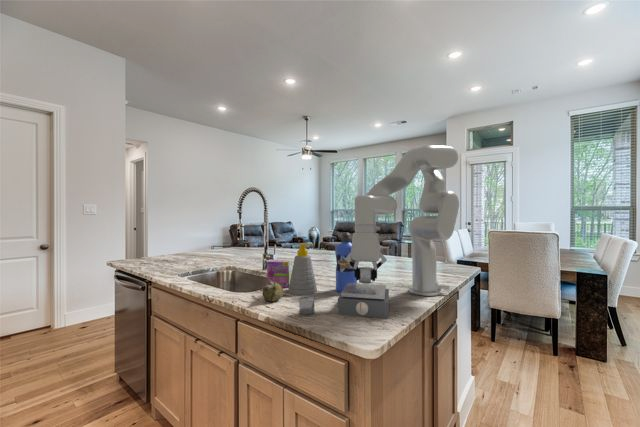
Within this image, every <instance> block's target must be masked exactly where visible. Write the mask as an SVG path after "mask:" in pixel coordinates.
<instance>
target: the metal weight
mask: <svg viewBox="0 0 640 427" xmlns="http://www.w3.org/2000/svg"><path fill="white" fill-rule="evenodd" d="M358 268H359V280H358V282H359V284H374V281H373V268H374V267H370V266H360V267H359V266H358Z"/></svg>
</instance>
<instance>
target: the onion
mask: <svg viewBox="0 0 640 427" xmlns="http://www.w3.org/2000/svg"><path fill="white" fill-rule="evenodd" d="M283 294H284V287H282V286H281V285H279V284H278V283H276V282H275V281H274V282H273V281H272V280H270V281H269V284H268V285H267V284H266V285H265V286H264V287H263V289H262V297H263V298H264V299H265V301H267V302H276V301H279V300H280V299H281V298H282V297H283Z"/></svg>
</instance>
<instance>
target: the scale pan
mask: <svg viewBox="0 0 640 427" xmlns="http://www.w3.org/2000/svg"><path fill="white" fill-rule="evenodd" d="M386 289H387V284H374V283H369V284H364V283H358V282H357V283H348V284H347V285H346V287H345V288H344V290H343V291H342V292H341V293H340V295H341V296H342V297H357V298H372V299H385V292H386Z"/></svg>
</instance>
